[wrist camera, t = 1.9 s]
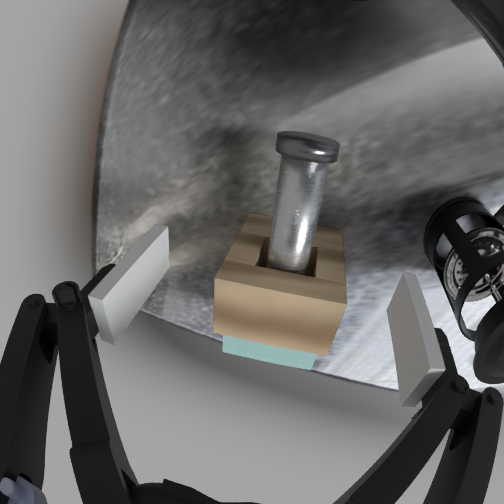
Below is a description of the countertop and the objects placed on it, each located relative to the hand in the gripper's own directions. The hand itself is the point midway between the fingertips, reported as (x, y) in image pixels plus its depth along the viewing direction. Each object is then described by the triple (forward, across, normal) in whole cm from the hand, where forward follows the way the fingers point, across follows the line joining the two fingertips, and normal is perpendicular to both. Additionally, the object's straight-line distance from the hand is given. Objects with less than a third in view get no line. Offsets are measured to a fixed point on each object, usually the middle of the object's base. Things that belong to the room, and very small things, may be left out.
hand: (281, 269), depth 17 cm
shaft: (+11, 0, -5) cm, 13 cm away
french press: (+16, +19, -2) cm, 25 cm away
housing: (+16, 0, -8) cm, 18 cm away
